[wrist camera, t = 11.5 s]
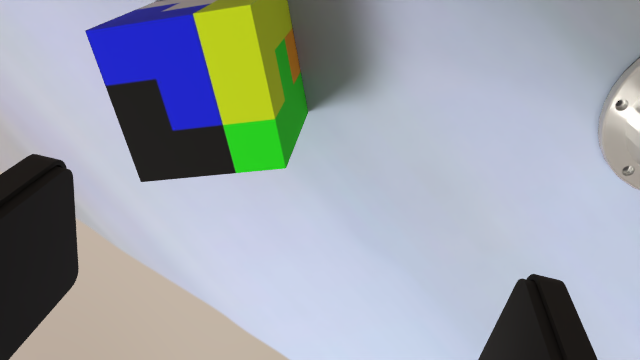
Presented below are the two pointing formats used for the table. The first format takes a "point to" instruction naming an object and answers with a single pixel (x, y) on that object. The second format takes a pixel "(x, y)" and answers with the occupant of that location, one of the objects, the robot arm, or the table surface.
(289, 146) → the puzzle toy
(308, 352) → the table surface
